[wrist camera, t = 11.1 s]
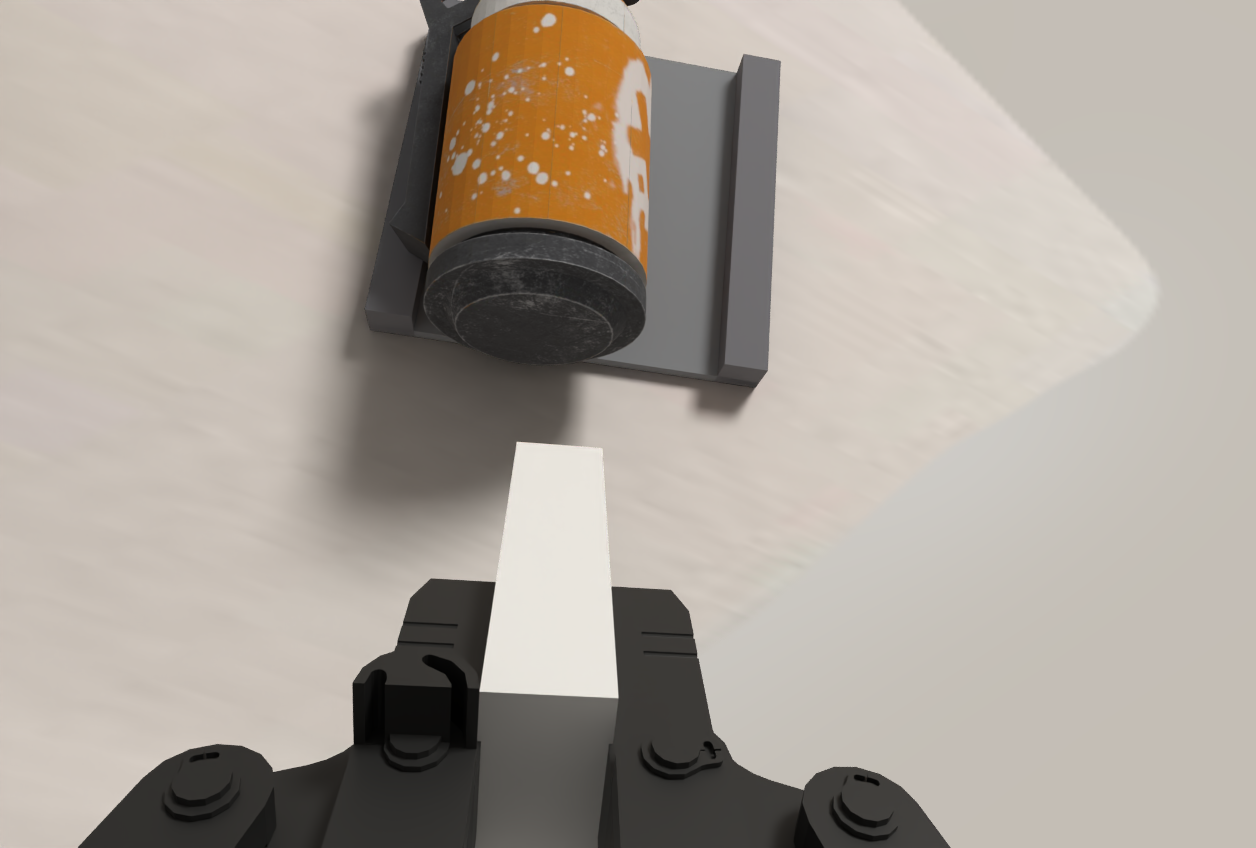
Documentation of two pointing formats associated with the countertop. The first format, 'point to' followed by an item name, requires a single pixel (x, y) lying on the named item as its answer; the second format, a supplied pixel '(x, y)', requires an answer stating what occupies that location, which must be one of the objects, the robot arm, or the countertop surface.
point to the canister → (532, 177)
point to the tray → (664, 228)
